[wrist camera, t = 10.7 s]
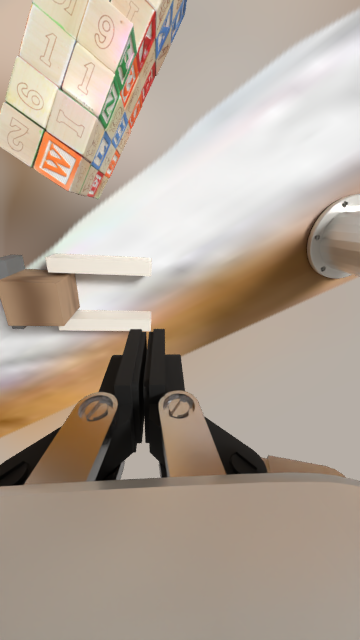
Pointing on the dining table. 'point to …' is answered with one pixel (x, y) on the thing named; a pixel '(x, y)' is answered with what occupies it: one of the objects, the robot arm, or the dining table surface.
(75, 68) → the stack of blocks
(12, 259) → the bar
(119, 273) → the chute rail
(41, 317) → the walnut block
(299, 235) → the dining table surface
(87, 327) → the chute rail
